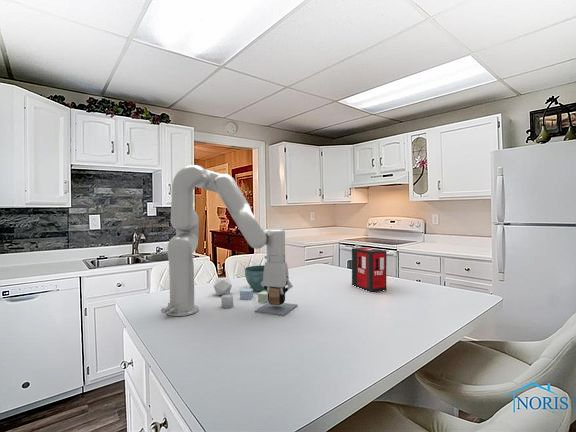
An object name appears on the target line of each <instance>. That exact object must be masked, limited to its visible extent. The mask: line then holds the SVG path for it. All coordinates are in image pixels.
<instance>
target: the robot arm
mask: <svg viewBox="0 0 576 432" xmlns="http://www.w3.org/2000/svg"><path fill="white" fill-rule="evenodd" d="M195 188H199V189H203V190H205V191H210V192H212V193H215V194H218V197H219V198H220V199H221V201H222V202H223V204H224V206H225V207H226V209H227V211H228V212H229V214H230V216H231V218H232V220H233V222H235V224H236V226H237V228H238V230H239V231H240V233H241V234H242V236H243V237H244V239H245V240H246V242H247V244H248V245H249V246H250V248H252V249H256V250H257V249H259V250H260V249H261V248H263V247H264V246H266V255H264V259H266V261H265V262H264V265H265V266H264V273H263V281H262V282H261V285H262V286H263V287H264V288H265V290H266V291H267V293H268V302H269V287H278V288H280V292H281V294H280V304H283V303H285V301H286V293H287V292H288V291H289V290H290V289H292V288H293V284H292V282H291V281H290V278H289V277H290V276H289V268H288V263H287V261H286V231H285V230H284V229H282V228H270V229H267V228H266V229H265V228H261V225H260V224H259V222H258V220H257V218H256V217H255V216H254V213H253V211H252V208H251V206H250V204H249V201H247V199H246V197H245V195H244V193H243V192H242V191H241V189H240V187H239V186H238V184H237V182H236V180H235V178H234V177H232V176H231V175H230V174H229V173H219V172H216V171H212V170H209V169H206V168H204V167H203V166H201V165H199V164H191V165H190V164H189V165H187V166H184V167H183V168H180V169H179V170H178V172H176V174H175V176H174V177H173V180H172V186H171V201H170V202H171V203H170V204H171V205H170V207H171V208H170V225H171V227H172V228H173V229H174V230H175V235H173V237H171V238H170V240H169V241H168V243H167V246H166V247H167V249H166V250H167V251H166V252H167V259H168V270H169V272H168V274H169V302H168V303H167V306H164V307H162V308H161V309H160V312H161V314H166V315H167V316H170V317H184V316H190V315H193V314H195V313H197V312H199V306H198V305H196V304H195V268H194V267H195V264H194V255H193V253H194V252H196V250H197V249H198V245H199V222H200V219H199V215H198V213H197V212H196V211H195V209H194V199H195V198H194V197H195V196H194V190H195ZM286 286H287V287H286ZM268 302H267V303H268Z"/></svg>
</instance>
